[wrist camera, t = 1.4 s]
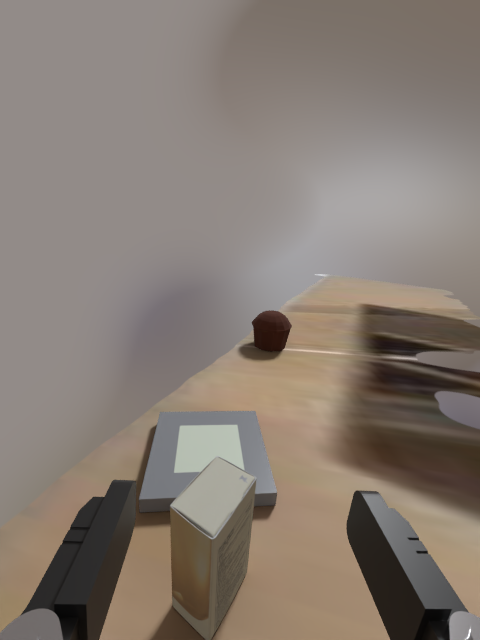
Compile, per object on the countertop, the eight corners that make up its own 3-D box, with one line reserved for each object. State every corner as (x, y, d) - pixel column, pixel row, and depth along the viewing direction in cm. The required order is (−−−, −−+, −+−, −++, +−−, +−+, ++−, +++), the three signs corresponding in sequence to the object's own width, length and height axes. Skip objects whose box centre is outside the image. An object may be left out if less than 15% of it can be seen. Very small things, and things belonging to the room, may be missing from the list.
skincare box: (213, 545, 30) (218, 451, 26) (248, 572, 28) (260, 474, 24) (167, 609, 25) (166, 503, 21) (207, 649, 23) (213, 538, 19)
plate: (254, 420, 50) (255, 411, 49) (275, 505, 35) (277, 492, 34) (160, 422, 48) (160, 411, 47) (139, 512, 33) (138, 499, 32)
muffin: (285, 356, 77) (289, 321, 73) (245, 349, 79) (248, 314, 76) (291, 341, 87) (295, 310, 84) (256, 335, 90) (258, 304, 87)
